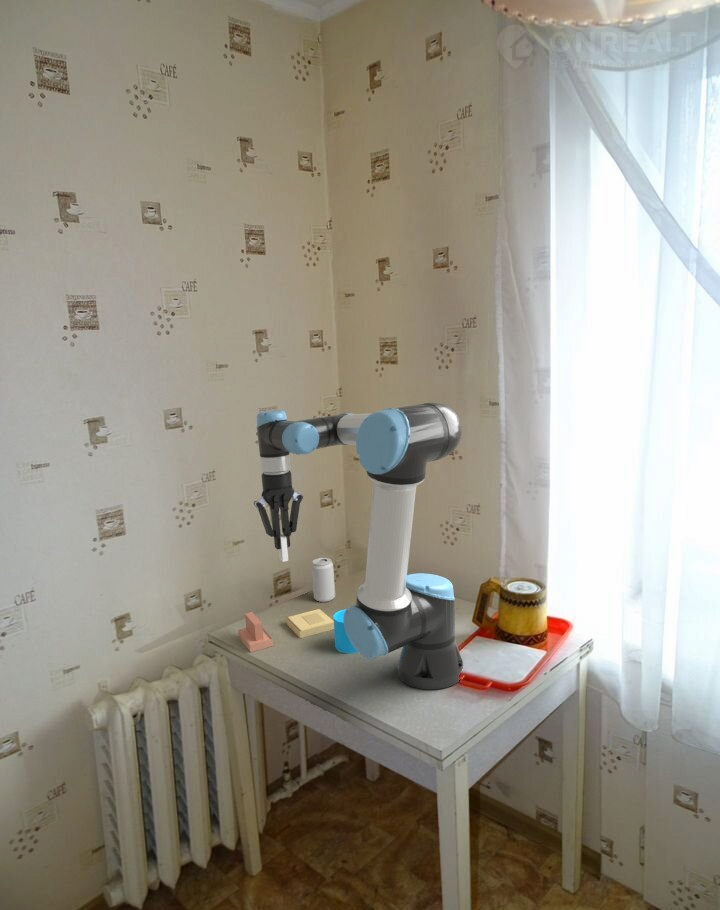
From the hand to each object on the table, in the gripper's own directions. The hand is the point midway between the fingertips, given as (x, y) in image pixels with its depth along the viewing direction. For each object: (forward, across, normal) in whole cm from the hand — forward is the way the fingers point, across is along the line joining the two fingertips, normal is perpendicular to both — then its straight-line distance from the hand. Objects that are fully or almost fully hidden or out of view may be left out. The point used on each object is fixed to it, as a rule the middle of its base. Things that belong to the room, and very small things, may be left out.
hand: (283, 559), depth 175 cm
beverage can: (+21, -18, -16) cm, 32 cm away
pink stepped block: (+21, +9, -1) cm, 23 cm away
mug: (+21, -11, +13) cm, 27 cm away
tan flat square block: (+21, -6, -1) cm, 22 cm away
